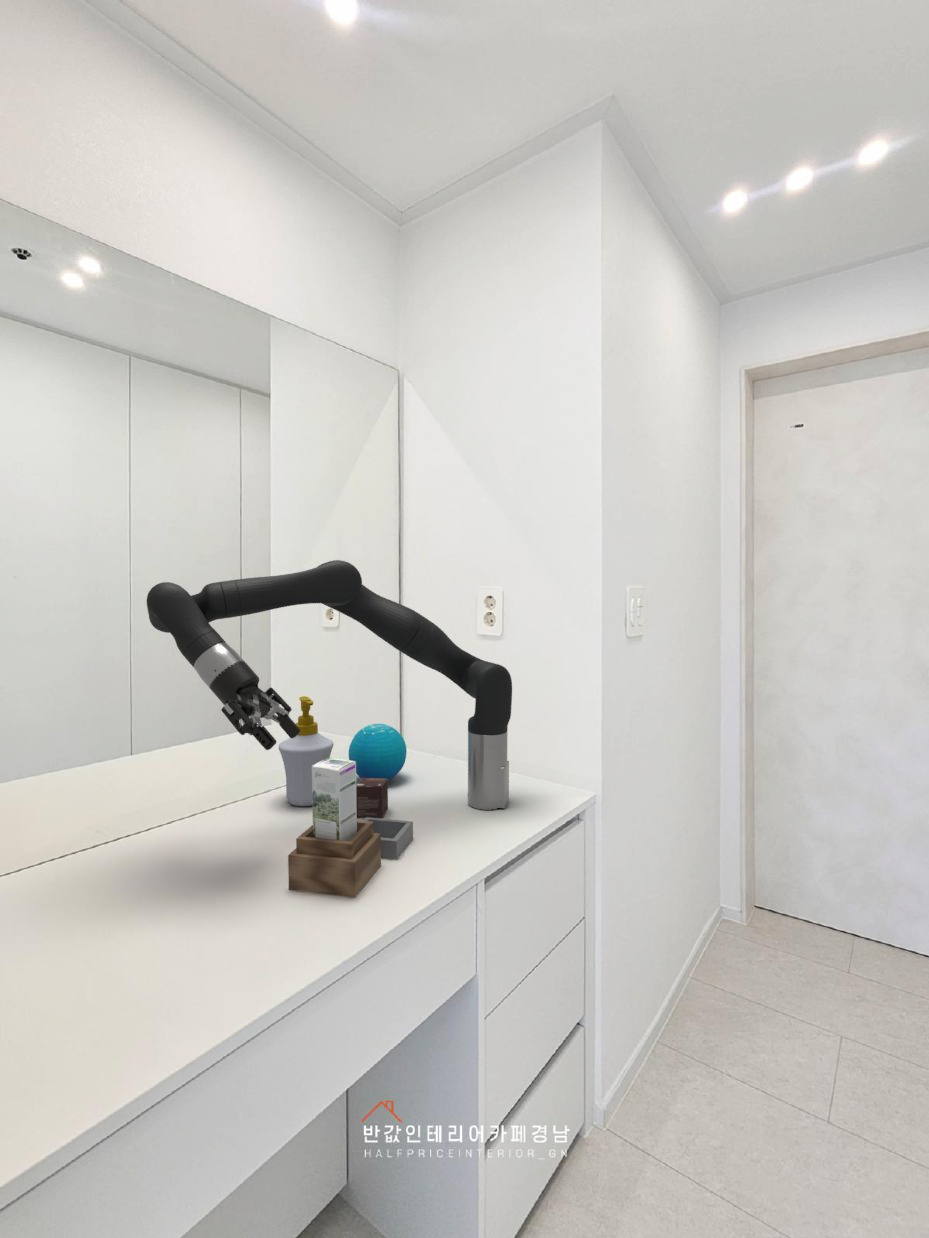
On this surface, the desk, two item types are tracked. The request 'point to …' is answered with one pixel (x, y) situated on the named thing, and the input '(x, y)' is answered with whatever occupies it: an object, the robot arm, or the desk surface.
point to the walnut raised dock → (335, 862)
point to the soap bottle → (303, 756)
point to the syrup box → (334, 799)
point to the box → (372, 797)
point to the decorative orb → (378, 751)
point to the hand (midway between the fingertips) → (285, 740)
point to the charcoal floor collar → (392, 835)
